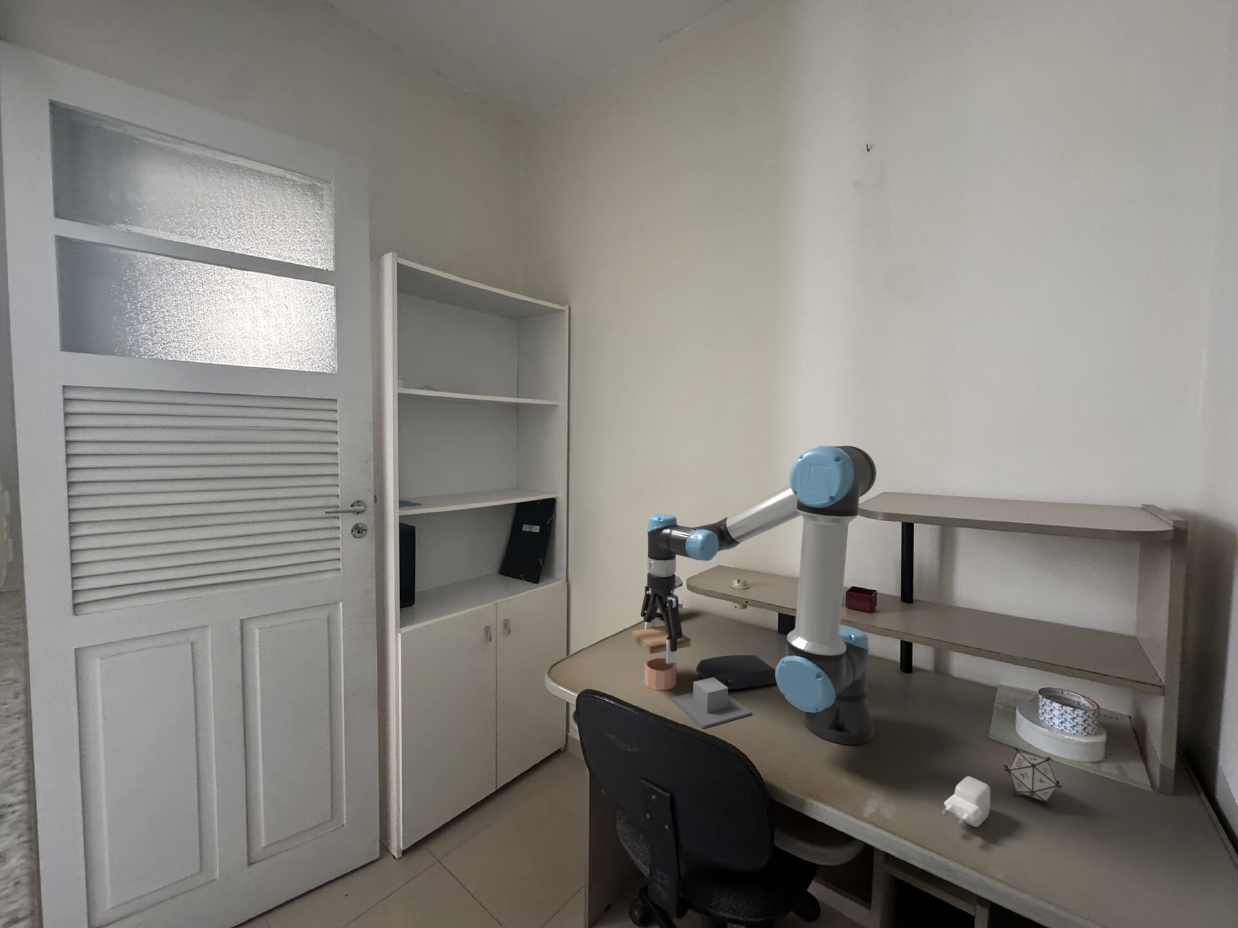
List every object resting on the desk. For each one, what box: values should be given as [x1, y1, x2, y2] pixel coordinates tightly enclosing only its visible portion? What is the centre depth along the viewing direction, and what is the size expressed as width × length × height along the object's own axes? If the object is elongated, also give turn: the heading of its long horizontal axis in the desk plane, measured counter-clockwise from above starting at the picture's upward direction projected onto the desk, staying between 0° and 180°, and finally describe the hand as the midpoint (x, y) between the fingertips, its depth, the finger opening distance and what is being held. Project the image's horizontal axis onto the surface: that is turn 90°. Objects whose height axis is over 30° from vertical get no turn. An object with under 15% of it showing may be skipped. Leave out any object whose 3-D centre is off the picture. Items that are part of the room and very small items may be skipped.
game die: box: [1002, 746, 1064, 808], centre depth 96 cm, size 9×8×10 cm
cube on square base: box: [670, 677, 752, 729], centre depth 127 cm, size 14×14×6 cm
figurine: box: [654, 575, 684, 618], centre depth 187 cm, size 9×12×15 cm
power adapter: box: [941, 775, 991, 828], centre depth 89 cm, size 11×5×6 cm, turn 126°
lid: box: [630, 624, 691, 655], centre depth 139 cm, size 11×12×2 cm
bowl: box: [643, 657, 677, 691], centre depth 139 cm, size 8×8×5 cm
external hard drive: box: [695, 653, 777, 690], centre depth 142 cm, size 13×19×4 cm
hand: (659, 653), depth 139 cm, fingers closed on lid, 11 cm apart
